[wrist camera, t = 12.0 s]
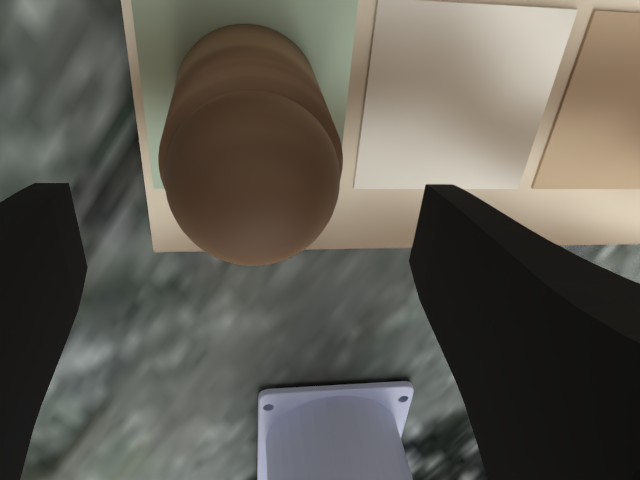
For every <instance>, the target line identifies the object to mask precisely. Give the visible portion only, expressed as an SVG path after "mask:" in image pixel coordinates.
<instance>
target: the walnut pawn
mask: <svg viewBox="0 0 640 480" xmlns="http://www.w3.org/2000/svg"><path fill="white" fill-rule="evenodd" d="M158 163H159V172H160V177H161V180H162V183H163V186H164V189H165V191H166V196H167V201H168V204H169V207H170V210H171V212H172V214H173V216H174V218H175V220H176V222H177V224H178V225H179V226H180V228H181V229H182V231H183V232H184V233H185V234H186V235H187V236H188V237H189V239H190V240H191V241H192V242H193V243H195V244H196V245H197V246H198V247H199V248H201V249H202V250H204V251H205V252H207V253H208V254H210V255H212V256H214V257H216V258H218V259H221V260H224V261H226V262H229V263H234V264H238V265H245V266H260V265H268V264H274V263H277V262H281V261H283V260H286V259H288V258H291V257H292V256H294V255H296V254H298V253H300V252H301V251H302V250H304V249H305V248H307V247H308V246H309V245H310V244H312V243H313V242H314V241H315V240H316V239H317V238H318V236H319V235H320V234H321V233H322V231H323V230H324V229H325V227H326V226H327V224H328V223H329V221H330V219H331V217H332V215H333V212H334V209H335V206H336V203H337V200H338V195H339V188H340V179H341V174H342V168H343V153H342V146H341V142H340V138H339V135H338V132H337V130H336V127H335V125H334V122H333V120H332V117H331V115H330V112H329V110H328V107H327V105H326V102H325V100H324V97H323V95H322V92H321V90H320V87H319V85H318V82H317V80H316V77H315V75H314V72H313V70H312V67H311V65H310V63H309V61H308V59H307V58H306V56H305V55H304V53H303V52H302V51H301V49H300V48H299V47H298V46H297V45H296V44H295V43H294V42H293V41H291V40H290V39H289V38H287V37H286V36H285V35H283V34H281V33H279V32H278V31H275V30H273V29H271V28H268V27H265V26H261V25H255V24H234V25H228V26H225V27H221V28H218V29H216V30H214V31H212V32H210V33H208V34H207V35H205V36H204V37H202V38H201V39H200V40H199V41H198V42H196V43H195V44H194V45H193V47H192V48H191V49H190V50H189V51H188V53H187V54H186V56H185V58H184V59H183V62H182V64H181V66H180V69H179V72H178V76H177V80H176V83H175V87H174V91H173V95H172V99H171V103H170V107H169V110H168V114H167V118H166V122H165V126H164V130H163V133H162V137H161V141H160V145H159V154H158Z"/></svg>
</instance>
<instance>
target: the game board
mask: <svg viewBox="0 0 640 480" xmlns="http://www.w3.org/2000/svg"><path fill="white" fill-rule="evenodd" d="M121 6H122V13H123V21H124V29H125V36H126V44H127V52H128V59H129V67H130V75H131V82H132V90H133V98H134V105H135V113H136V121H137V128H138V136H139V144H140V151H141V159H142V167H143V174H144V182H145V190H146V197H147V205H148V213H149V220H150V228H151V236H152V243H153V251H154V252H196V251H204V250H202V249H201V248H199V247H198V246H197V245H196V244H195V243H193V242H192V241H191V240H190V239H189V237H188V236H187V235H186V234H185V233H184V232H183V231H182V229H181V228H180V226H179V225H178V224H177V222H176V220H175V218H174V216H173V214H172V212H171V210H170V207H169V204H168V201H167V196H166V191H165V189H164V186H163V183H162V180H161V177H160V172H159V163H158V154H159V145H160V141H161V137H162V133H163V130H164V126H165V122H166V118H167V114H168V110H169V107H170V103H171V99H172V95H173V91H174V87H175V83H176V80H177V76H178V72H179V69H180V66H181V64H182V62H183V59H184V58H185V56H186V54H187V53H188V51H189V50H190V49H191V48H192V47H193V45H194V44H195V43H196V42H198V41H199V40H200V39H201V38H202V37H204V36H205V35H207V34H208V33H210V32H212V31H214V30H216V29H218V28H221V27H225V26H228V25H234V24H255V25H261V26H265V27H268V28H271V29H273V30H275V31H278V32H279V33H281V34H283V35H285V36H286V37H287V38H289V39H290V40H291V41H293V42H294V43H295V44H296V45H297V46H298V47H299V48H300V49H301V51H302V52H303V53H304V55H305V56H306V58H307V59H308V61H309V63H310V65H311V67H312V70H313V72H314V75H315V77H316V80H317V82H318V85H319V87H320V90H321V92H322V95H323V97H324V100H325V102H326V105H327V107H328V110H329V112H330V115H331V117H332V120H333V122H334V125H335V127H336V130H337V132H338V135H339V138H340V142H341V146H342V153H343V168H342V174H341V179H340V188H339V195H338V200H337V203H336V206H335V209H334V212H333V215H332V217H331V219H330V221H329V223H328V224H327V226H326V227H325V229H324V230H323V231H322V233H321V234H320V235H319V236H318V238H317V239H316V240H315V241H314V242H313V243H312V244H310V245H309V246H308V247H307V248H305V249H304V250H313V249H372V248H412V245H413V241H414V236H415V231H416V227H417V222H418V218H419V213H420V208H421V204H422V199H423V194H424V190H425V185H426V184H453V185H455V186H458V187H460V188H462V189H464V190H466V191H467V192H469V193H471V194H473V195H474V196H476V197H478V198H479V199H481V200H483V201H484V202H486V203H488V204H489V205H491V206H492V207H494V208H496V209H497V210H499V211H500V212H502V213H504V214H505V215H507V216H509V217H510V218H512V219H513V220H515V221H517V222H518V223H520V224H522V225H523V226H525V227H527V228H528V229H530V230H532V231H533V232H535V233H537V234H539V235H540V236H542V237H544V238H546V239H547V240H549V241H551V242H553V243H555V244H556V245H606V244H640V0H121Z"/></svg>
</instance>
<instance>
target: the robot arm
mask: <svg viewBox="0 0 640 480" xmlns="http://www.w3.org/2000/svg"><path fill="white" fill-rule="evenodd" d="M409 262H410V266H411V270H412V274H413V278H414V282H415V285H416V289H417V292H418V296H419V299H420V301H421V304H422V306H423V309H424V311H425V313H426V315H427V318H428V320H429V322H430V325H431V327H432V329H433V331H434V334H435V336H436V338H437V340H438V343H439V345H440V347H441V349H442V351H443V354H444V356H445V358H446V360H447V363H448V365H449V367H450V369H451V371H452V374H453V376H454V378H455V380H456V383H457V385H458V388H459V390H460V393H461V395H462V398H463V401H464V403H465V407H466V410H467V413H468V416H469V419H470V422H471V425H472V429H473V432H474V435H475V438H476V441H477V444H478V448H479V451H480V455H481V458H482V462H483V465H484V468H485V472H486V475H487V479H488V480H640V284H639V283H636V282H634V281H631V280H629V279H627V278H624V277H622V276H620V275H618V274H615V273H613V272H611V271H609V270H607V269H604V268H602V267H600V266H598V265H596V264H593V263H591V262H589V261H587V260H585V259H583V258H581V257H579V256H577V255H575V254H573V253H571V252H569V251H568V250H566V249H564V248H562V247H560V246H558V245H556V244H555V243H553V242H551V241H549V240H547V239H546V238H544V237H542V236H540V235H539V234H537V233H535V232H533V231H532V230H530V229H528V228H527V227H525V226H523V225H522V224H520V223H518V222H517V221H515V220H513V219H512V218H510V217H509V216H507V215H505V214H504V213H502V212H500V211H499V210H497V209H496V208H494V207H492V206H491V205H489V204H488V203H486V202H484V201H483V200H481V199H479V198H478V197H476V196H474V195H473V194H471V193H469V192H467V191H466V190H464V189H462V188H460V187H458V186H455V185H453V184H426V185H425V190H424V194H423V199H422V204H421V208H420V213H419V218H418V222H417V227H416V231H415V236H414V241H413V245H412V250H411V255H410V259H409ZM86 272H87V263H86V259H85V254H84V250H83V245H82V241H81V236H80V232H79V227H78V223H77V218H76V214H75V209H74V205H73V200H72V196H71V191H70V187H69V183H34V184H32V185H30V186H28V187H26V188H24V189H22V190H21V191H19V192H17V193H15V194H14V195H12V196H10V197H9V198H7V199H5V200H4V201H2V202H0V480H20V477H21V474H22V470H23V466H24V462H25V458H26V455H27V451H28V447H29V443H30V439H31V436H32V432H33V428H34V425H35V422H36V419H37V416H38V413H39V410H40V407H41V405H42V402H43V400H44V397H45V394H46V392H47V389H48V387H49V384H50V382H51V379H52V377H53V374H54V372H55V369H56V366H57V364H58V361H59V359H60V356H61V354H62V351H63V349H64V346H65V343H66V341H67V338H68V336H69V333H70V330H71V328H72V325H73V323H74V320H75V317H76V314H77V312H78V309H79V304H80V300H81V296H82V292H83V287H84V282H85V277H86ZM413 393H414V388H413V385H412V384H411V383H410V382H408V381H396V382H379V383H361V384H344V385H326V386H309V387H291V388H274V389H265V390H263V391H261V392H260V393H259V395H258V449H257V480H413V479H412V475H411V472H410V469H409V465H408V462H407V458H406V455H405V451H404V448H403V445H402V441H401V437H402V433H403V429H404V426H405V422H406V419H407V415H408V411H409V408H410V404H411V400H412V397H413Z"/></svg>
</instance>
